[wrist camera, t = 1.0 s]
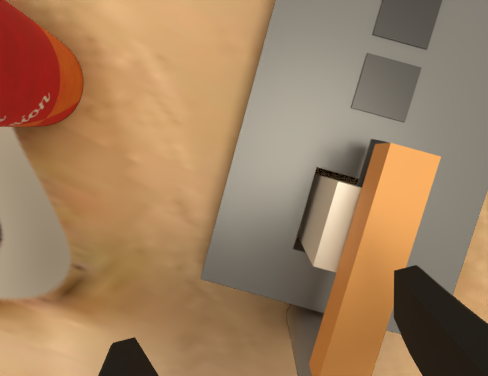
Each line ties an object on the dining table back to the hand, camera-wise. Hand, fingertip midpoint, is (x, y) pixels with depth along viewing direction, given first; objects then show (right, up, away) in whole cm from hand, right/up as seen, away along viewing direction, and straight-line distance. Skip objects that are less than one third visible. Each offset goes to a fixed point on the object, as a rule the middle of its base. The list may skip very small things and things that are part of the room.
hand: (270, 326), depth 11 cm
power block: (+6, +6, +14) cm, 17 cm away
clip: (+5, 0, +14) cm, 15 cm away
